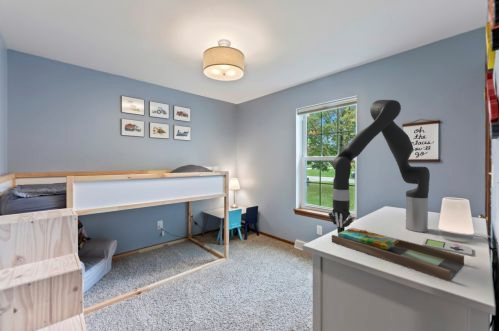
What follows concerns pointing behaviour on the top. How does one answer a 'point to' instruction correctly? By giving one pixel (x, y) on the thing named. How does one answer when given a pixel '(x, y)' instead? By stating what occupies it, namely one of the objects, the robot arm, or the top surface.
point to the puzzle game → (368, 238)
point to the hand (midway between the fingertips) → (340, 234)
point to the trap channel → (412, 256)
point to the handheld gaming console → (448, 246)
